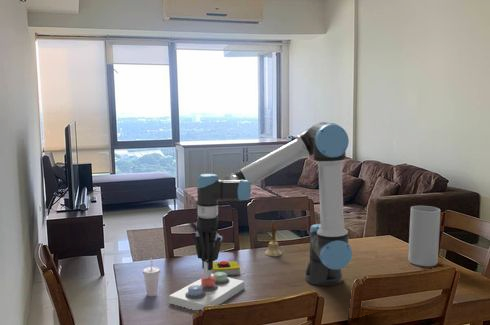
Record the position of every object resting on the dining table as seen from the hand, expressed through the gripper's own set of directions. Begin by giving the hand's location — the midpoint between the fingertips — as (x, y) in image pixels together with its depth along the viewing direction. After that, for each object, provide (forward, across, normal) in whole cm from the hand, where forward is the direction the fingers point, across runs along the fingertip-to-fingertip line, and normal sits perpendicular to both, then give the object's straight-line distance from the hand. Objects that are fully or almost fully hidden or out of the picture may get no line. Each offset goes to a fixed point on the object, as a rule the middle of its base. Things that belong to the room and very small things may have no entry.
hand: (207, 277), depth 178 cm
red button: (+2, 0, 0) cm, 2 cm away
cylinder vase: (+6, +62, +81) cm, 103 cm away
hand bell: (+7, -2, +57) cm, 58 cm away
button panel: (+7, 0, 0) cm, 7 cm away
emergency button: (+8, -8, +26) cm, 28 cm away
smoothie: (+8, -19, -10) cm, 22 cm away
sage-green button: (+3, 0, +8) cm, 9 cm away
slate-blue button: (+4, 0, -8) cm, 9 cm away
